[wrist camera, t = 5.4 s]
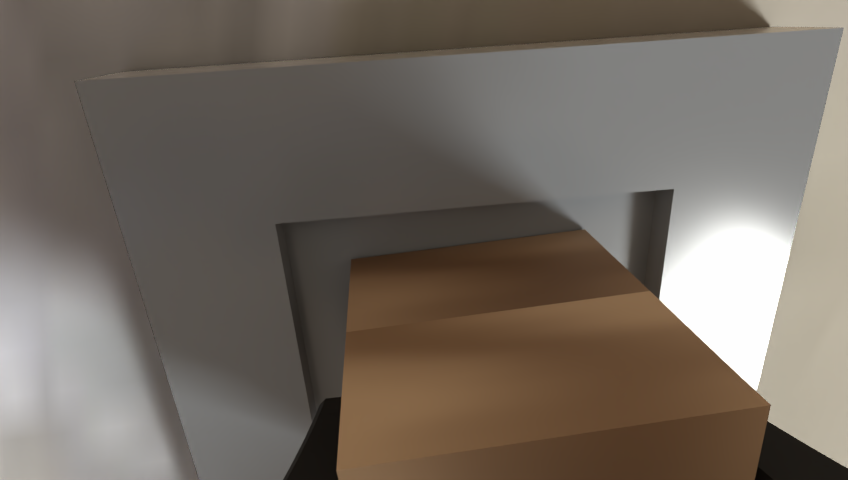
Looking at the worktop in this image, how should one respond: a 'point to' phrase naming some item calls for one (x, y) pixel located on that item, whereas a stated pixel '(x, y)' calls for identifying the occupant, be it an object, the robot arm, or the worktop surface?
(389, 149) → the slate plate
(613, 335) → the brown block
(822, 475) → the robot arm
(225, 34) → the worktop surface
